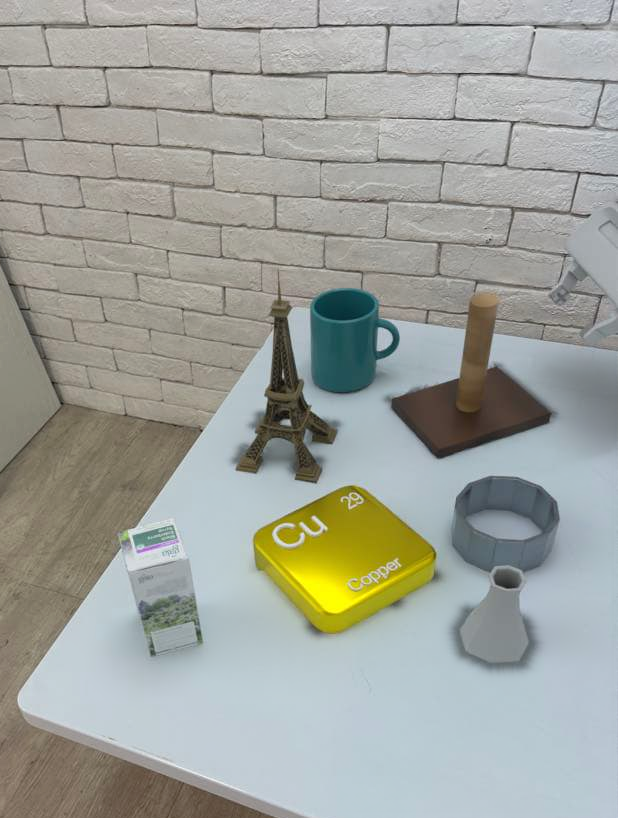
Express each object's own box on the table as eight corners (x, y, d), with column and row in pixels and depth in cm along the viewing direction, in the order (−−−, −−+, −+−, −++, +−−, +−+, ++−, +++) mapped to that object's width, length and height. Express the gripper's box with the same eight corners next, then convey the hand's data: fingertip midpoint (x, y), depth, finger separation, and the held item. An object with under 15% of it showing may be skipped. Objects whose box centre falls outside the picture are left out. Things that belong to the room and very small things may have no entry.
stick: (472, 395, 105) (488, 290, 95) (486, 408, 103) (504, 302, 92) (451, 402, 105) (464, 297, 94) (464, 415, 103) (479, 309, 92)
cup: (397, 395, 109) (402, 321, 102) (309, 394, 112) (307, 322, 104) (397, 358, 116) (402, 286, 108) (313, 358, 118) (312, 288, 110)
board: (495, 375, 110) (496, 365, 109) (549, 422, 102) (551, 412, 101) (390, 407, 108) (391, 398, 107) (438, 458, 99) (439, 449, 98)
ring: (511, 505, 92) (520, 465, 88) (567, 563, 85) (580, 523, 81) (433, 532, 91) (437, 493, 86) (483, 594, 84) (492, 555, 79)
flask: (528, 681, 76) (549, 615, 69) (450, 667, 78) (461, 600, 71) (532, 623, 80) (551, 555, 73) (458, 610, 83) (469, 543, 75)
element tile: (327, 648, 81) (327, 618, 78) (248, 560, 91) (244, 531, 87) (441, 583, 85) (446, 552, 82) (354, 506, 95) (355, 475, 92)
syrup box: (192, 610, 86) (174, 513, 76) (206, 652, 82) (188, 555, 72) (141, 624, 86) (115, 528, 75) (152, 667, 82) (126, 571, 71)
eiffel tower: (235, 470, 102) (215, 289, 84) (261, 420, 109) (247, 243, 91) (316, 483, 99) (312, 297, 81) (337, 431, 105) (338, 249, 88)
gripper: (739, 288, 83) (620, 381, 90) (646, 208, 97) (551, 293, 104) (710, 253, 79) (589, 352, 87) (619, 176, 94) (522, 266, 101)
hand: (568, 319), depth 95 cm, fingers open, 8 cm apart
